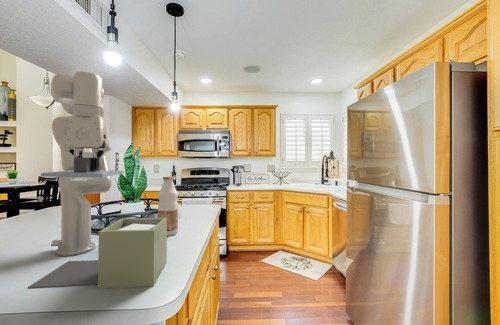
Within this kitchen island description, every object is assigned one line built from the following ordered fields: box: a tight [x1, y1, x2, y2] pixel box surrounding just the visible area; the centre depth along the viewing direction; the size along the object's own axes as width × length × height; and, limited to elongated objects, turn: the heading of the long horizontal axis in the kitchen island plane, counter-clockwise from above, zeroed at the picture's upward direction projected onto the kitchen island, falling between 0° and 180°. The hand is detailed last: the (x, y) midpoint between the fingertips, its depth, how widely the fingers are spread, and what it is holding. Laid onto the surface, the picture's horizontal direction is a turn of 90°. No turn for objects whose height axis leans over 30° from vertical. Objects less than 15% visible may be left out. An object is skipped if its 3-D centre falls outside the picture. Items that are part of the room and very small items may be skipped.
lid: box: [40, 157, 125, 178], centre depth 75 cm, size 16×16×6 cm
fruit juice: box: [157, 176, 179, 237], centre depth 116 cm, size 9×9×28 cm
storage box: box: [97, 217, 168, 289], centre depth 74 cm, size 15×15×16 cm
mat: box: [27, 259, 98, 289], centre depth 75 cm, size 18×17×1 cm
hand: (87, 170), depth 75 cm, fingers closed on lid, 3 cm apart
